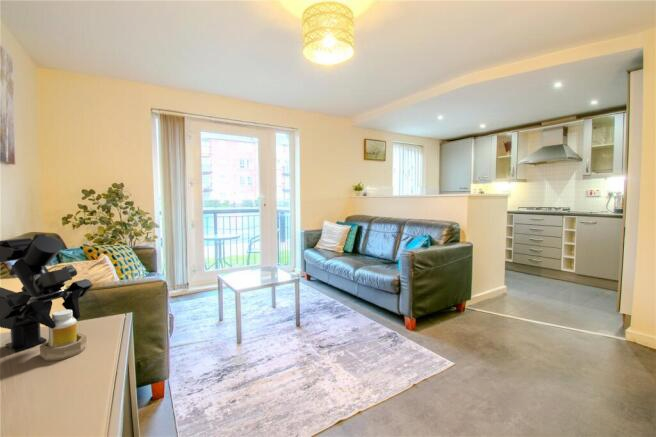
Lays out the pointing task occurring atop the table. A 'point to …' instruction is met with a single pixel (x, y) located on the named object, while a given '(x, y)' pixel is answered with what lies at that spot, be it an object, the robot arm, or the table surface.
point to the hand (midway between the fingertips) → (66, 322)
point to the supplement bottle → (62, 329)
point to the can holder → (63, 349)
